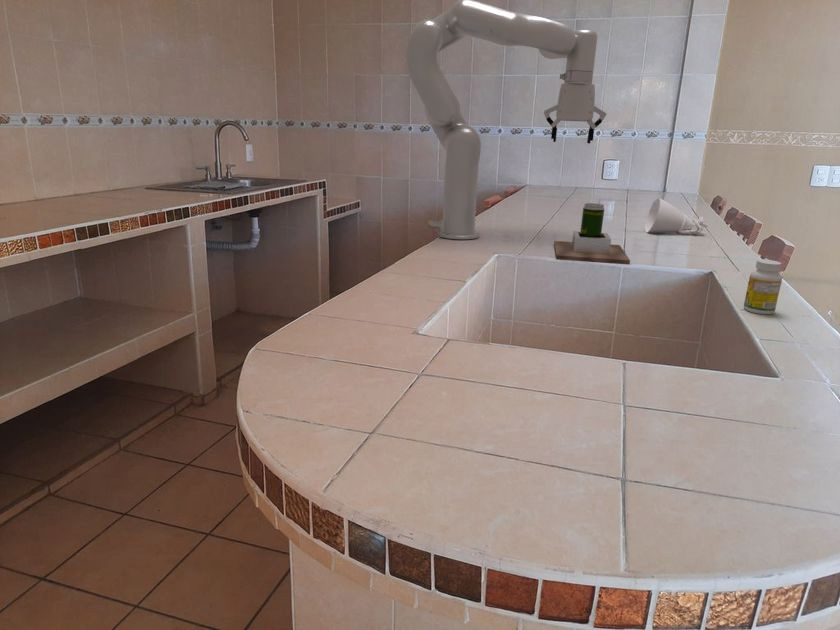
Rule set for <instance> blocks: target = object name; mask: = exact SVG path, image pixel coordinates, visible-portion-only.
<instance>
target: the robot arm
mask: <svg viewBox="0 0 840 630" xmlns="http://www.w3.org/2000/svg"><path fill="white" fill-rule="evenodd" d="M467 36H469V37H474V38H477V39H481V40H484V41H486V42H491V43H494V44H497V45H500V46H506V47H512V46H513V47H515V46H518V47H519V46H523V47H527V48H529V47H530V48H533V49H537V50H539V53H540V55H541V56H543V58H545V59H549V60H557V59H566V64H565V72H564V73H562V74H561V73H560V74H559V80H562V81H564V83H561V85H560V89H559V93H558V98H557V99H558V100H557V104H556V105H553V106H551V107H550V108H547V109H545V110H544V111H543V114H544V117H545V120H546V122H548V124H549V125H550V126H551V136H550V137H551V138H550V139H552V140H553V143H555V142H556V141H557V132H558V127H557V125H558V124H559V123H560V122H561V121H563V122H586V124H588V125H589V129H588V132H587V144H591V141H592V142H593V141H594V135H595V130H596V128H597V127H599V125H601V124H602V122H603V120H604V119H605V117H606V116H607V113H606V112H605V111H604V110H602V109H600V108H599V107H596V106H595V101H596V88H595V87H596V85H595V84H593V79H594V78H593V77H594V68H595V61H596V51H597V45H598V44H597V43H598V34H597V31H595V30H593V29H576V30H573V28H572V27H570V26H569V25H567V24H565V23H562V22H558V21H555V20H552V19H549V18H545V17H541V16H538V15H537V16H536V15H531V14H526V13H521V12H518V11H512V10H509V9H505V8H500V7H498V6H495V5H491V4H488V3H485V2H482V1H478V0H456V1H455V2H454V3H453V4H452V5H451V6H450V8H449V9H448V8H447V10H445V11H444V12H442V13H441V14H439V15H437V16H436V17H434V18H432V19H423V20H421V21H419V22H417V24H416V25H415V26H414V28H413V30H412V32H411V34H410V35H409V38H408V41H407V44H406V49H405V65H406V70H407V74H408V76H409V79H410V80H411V82H412V85H413V86H414V88H415V90H416V92H417V94H418V97H419V98H420V100H421V102H422V104H423V106H424V107H423V108H424V114H425V117H426V119H427V121H428V123H429V125H430V126H431V128H432V130H433V132H434V134H435V135H436V137H437V138H438V141H439V142H440V144H441V146H442V147H443V149H444V150H445V152H446V155H445V165H444V166H445V167H444V182H443V183H444V189H443V209H442V210H443V211H442V212H443V213H442V219H441V220H438V221H435V220H428V222H427V223H428V225H427V226H428V228H431V229H438V230H437V232H436V234H437V237H440V238H445V239H450V240H460V241H461V240H476V239H478V238H480V232H479V231H477V230H475V229H476V228H475V226H476V209H477V192H478V175H479V165H480V157H481V149H482V143H481V137H480V134H479V133H478V131H477V130H476V129H475V128H474V127H472V126H470V125H468V124H467V121H466V119H465V118H464V116H463V114H462V112H461V105H460V104H461V103H460V101H459V100H458V97H457V96H456V94H455V93H454V91H453V90H452V88H451V86H450V84H449V83H448V81H447V78H446V77H445V75H444V73H443V71H442V68H441V67H440V64H439V61H438V53H439V52H442V51H443V50H445V49H447V48H448V47H450V46H452V45H454V44H455V43H457V42H459V41H461V40H462V39H464V38H465V37H467ZM554 112H556V113H555V114H556V116H555V117H556V119H555V120H553V119H552V118H551V115H550V114H551V113H554ZM594 113H595V114H597V115H599V117H598V119H597V120H596V121H593V118H594Z"/></svg>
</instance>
